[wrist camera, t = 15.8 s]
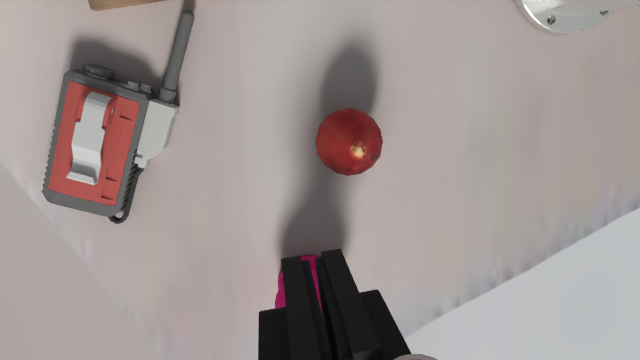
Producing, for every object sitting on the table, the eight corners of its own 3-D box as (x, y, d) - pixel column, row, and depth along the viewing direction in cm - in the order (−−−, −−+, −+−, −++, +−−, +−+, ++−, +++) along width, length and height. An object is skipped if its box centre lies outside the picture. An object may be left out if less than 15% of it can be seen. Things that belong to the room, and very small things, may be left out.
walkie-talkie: (149, 223, 38) (204, 17, 33) (135, 244, 33) (196, 10, 29) (51, 199, 35) (96, -25, 31) (23, 217, 31) (70, -39, 27)
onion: (380, 127, 38) (411, 143, 30) (346, 174, 39) (368, 201, 31) (334, 92, 36) (354, 100, 29) (299, 143, 37) (309, 163, 29)
